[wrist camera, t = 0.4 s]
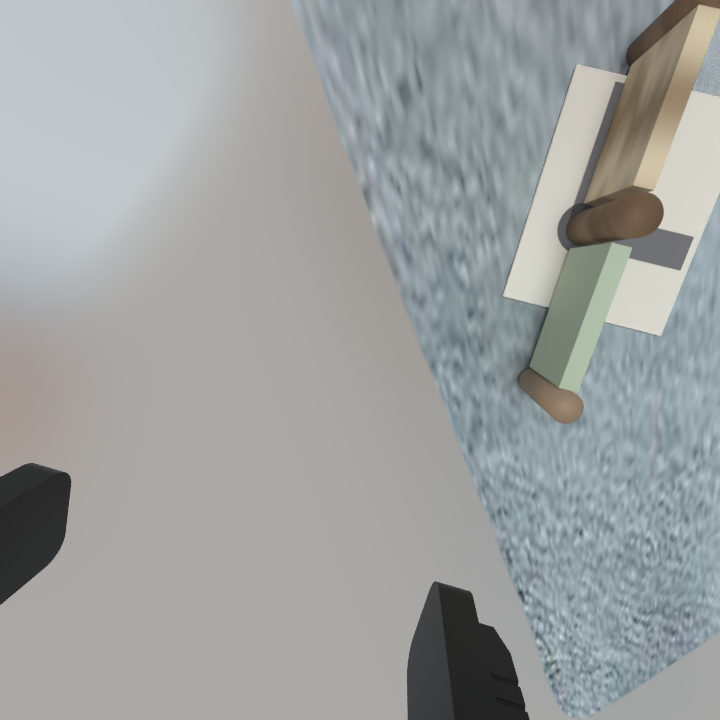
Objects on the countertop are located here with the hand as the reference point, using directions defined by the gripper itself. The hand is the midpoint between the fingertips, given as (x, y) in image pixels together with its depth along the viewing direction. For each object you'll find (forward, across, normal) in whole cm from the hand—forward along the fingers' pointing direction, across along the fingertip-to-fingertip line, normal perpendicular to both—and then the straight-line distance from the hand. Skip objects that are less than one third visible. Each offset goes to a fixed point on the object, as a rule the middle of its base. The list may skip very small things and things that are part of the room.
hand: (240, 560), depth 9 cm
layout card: (+26, -16, -15) cm, 34 cm away
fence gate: (+25, -14, -6) cm, 29 cm away
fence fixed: (+26, -14, -19) cm, 35 cm away
